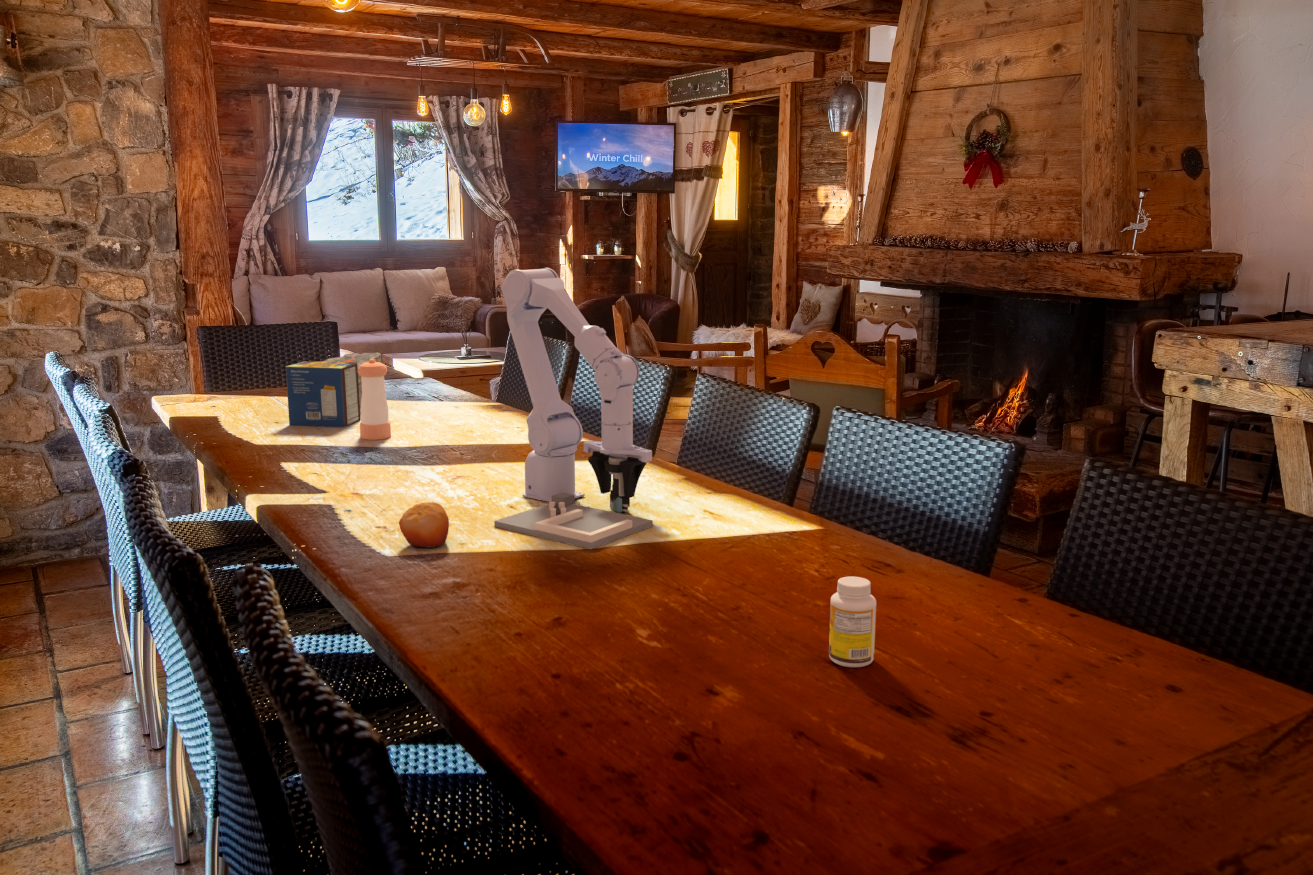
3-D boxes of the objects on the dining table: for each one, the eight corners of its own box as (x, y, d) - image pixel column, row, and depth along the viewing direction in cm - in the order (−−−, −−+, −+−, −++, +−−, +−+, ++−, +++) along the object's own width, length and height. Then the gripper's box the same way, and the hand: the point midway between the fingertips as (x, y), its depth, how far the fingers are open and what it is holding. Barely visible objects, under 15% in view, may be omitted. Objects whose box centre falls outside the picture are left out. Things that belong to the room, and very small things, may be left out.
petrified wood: (303, 410, 302) (299, 356, 299) (331, 400, 319) (328, 349, 316) (366, 412, 299) (363, 358, 296) (391, 402, 316) (389, 350, 313)
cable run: (542, 517, 193) (542, 508, 193) (554, 500, 204) (553, 492, 204) (565, 517, 193) (565, 508, 192) (575, 501, 204) (575, 492, 203)
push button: (640, 513, 199) (640, 459, 197) (613, 516, 197) (613, 462, 195) (626, 504, 205) (626, 453, 203) (600, 507, 203) (599, 455, 201)
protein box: (306, 418, 290) (302, 360, 287) (361, 420, 288) (358, 362, 285) (288, 425, 280) (284, 366, 277) (344, 427, 278) (341, 367, 275)
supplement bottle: (842, 647, 138) (846, 570, 136) (882, 659, 134) (886, 580, 132) (819, 661, 134) (822, 581, 132) (859, 673, 130) (863, 592, 128)
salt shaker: (397, 436, 268) (393, 358, 264) (375, 441, 262) (371, 362, 258) (376, 432, 271) (372, 356, 268) (354, 437, 265) (349, 359, 262)
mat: (494, 526, 191) (494, 520, 190) (558, 506, 204) (558, 500, 204) (591, 549, 178) (591, 543, 178) (652, 525, 191) (652, 520, 191)
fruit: (464, 529, 184) (451, 495, 179) (445, 564, 178) (430, 530, 173) (422, 524, 186) (408, 491, 181) (402, 558, 181) (386, 525, 176)
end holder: (534, 529, 185) (534, 522, 185) (577, 515, 194) (577, 508, 194) (590, 542, 178) (590, 535, 178) (632, 527, 187) (632, 520, 187)
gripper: (572, 421, 199) (573, 493, 202) (635, 430, 191) (635, 505, 194) (597, 415, 205) (597, 485, 208) (659, 424, 196) (658, 497, 199)
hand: (617, 494), depth 201 cm, fingers closed on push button, 5 cm apart
